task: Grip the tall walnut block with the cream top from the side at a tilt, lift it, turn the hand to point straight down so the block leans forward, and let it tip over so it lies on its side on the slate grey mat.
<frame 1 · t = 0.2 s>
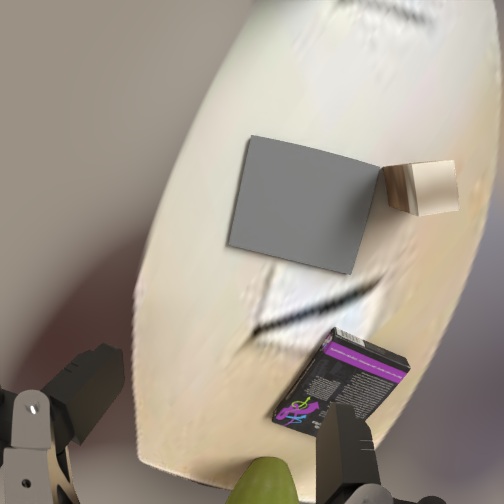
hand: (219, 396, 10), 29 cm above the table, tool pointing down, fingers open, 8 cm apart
mat: (303, 204, 36), on the table
box: (337, 386, 43), on the table
block: (403, 184, 34), on the table
flower pot: (269, 465, 50), on the table
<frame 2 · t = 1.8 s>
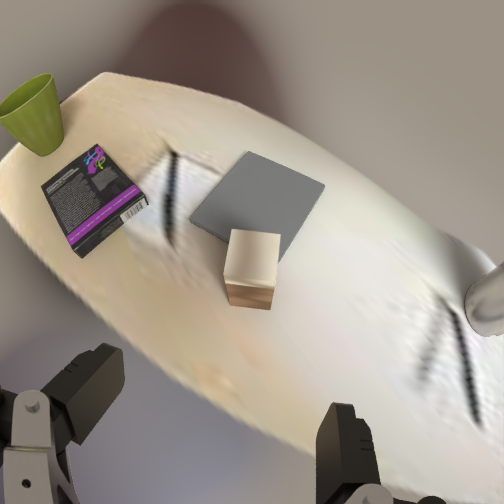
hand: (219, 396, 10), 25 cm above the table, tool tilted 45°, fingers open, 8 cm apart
mat: (260, 204, 44), on the table
box: (92, 200, 46), on the table
block: (252, 289, 38), on the table
flower pot: (50, 145, 54), on the table
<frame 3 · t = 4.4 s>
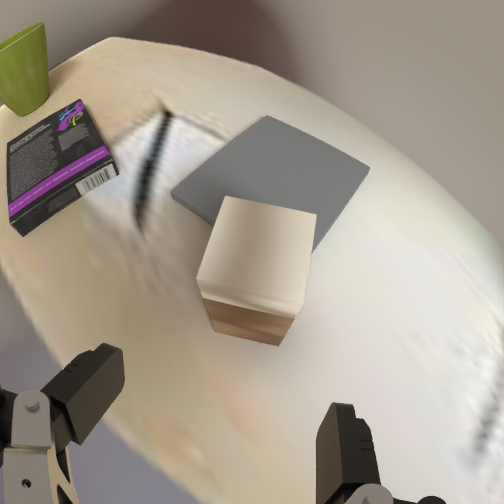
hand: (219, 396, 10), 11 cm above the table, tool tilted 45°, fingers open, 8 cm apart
mat: (277, 182, 30), on the table
box: (57, 165, 32), on the table
block: (253, 309, 23), on the table
flower pot: (33, 105, 41), on the table
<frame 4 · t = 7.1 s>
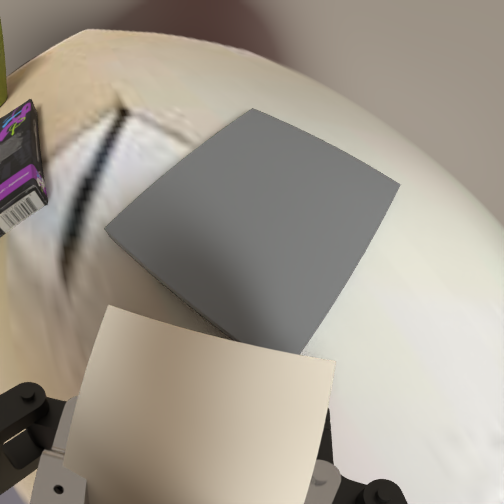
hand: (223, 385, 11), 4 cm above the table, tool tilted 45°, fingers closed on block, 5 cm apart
mat: (264, 209, 20), on the table
block: (220, 422, 13), on the table, touching gripper
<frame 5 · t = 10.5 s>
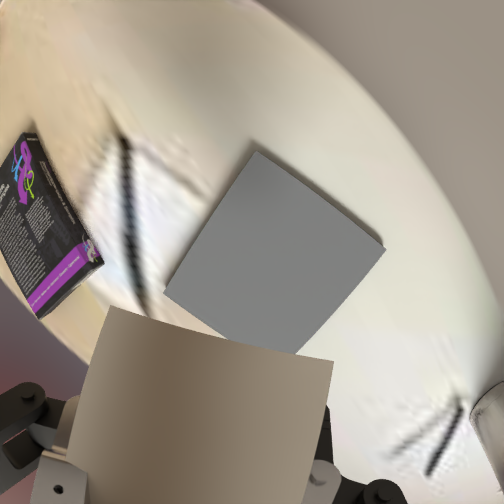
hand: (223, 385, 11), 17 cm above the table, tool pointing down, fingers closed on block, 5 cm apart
mat: (270, 270, 27), on the table
box: (41, 224, 31), on the table
block: (221, 422, 13), point 15 cm above the table, tilted 45°, touching gripper
when the fingers open (6 cm above the table, at t = 13.0 s): block moves 2 cm and tips over, resting on mat.
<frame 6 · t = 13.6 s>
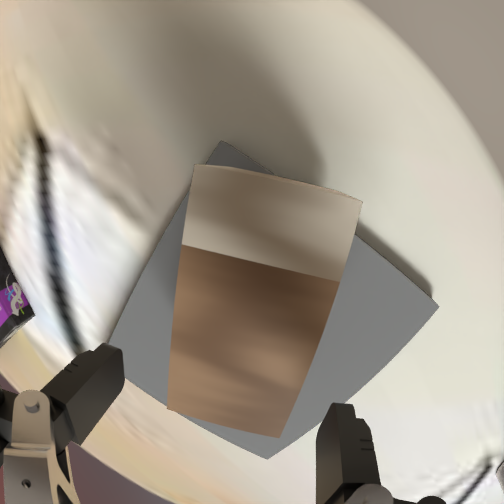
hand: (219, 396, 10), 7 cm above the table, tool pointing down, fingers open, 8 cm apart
mat: (251, 338, 17), on the table
block: (233, 390, 13), point 3 cm above the table, tilted 90°, touching mat
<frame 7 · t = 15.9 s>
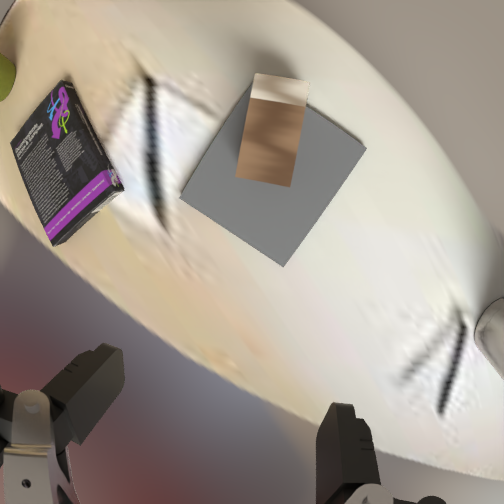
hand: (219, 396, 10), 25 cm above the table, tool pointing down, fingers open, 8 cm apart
mat: (271, 170, 32), on the table
box: (66, 161, 35), on the table
block: (264, 180, 29), point 3 cm above the table, tilted 90°, touching mat
flower pot: (5, 82, 32), on the table
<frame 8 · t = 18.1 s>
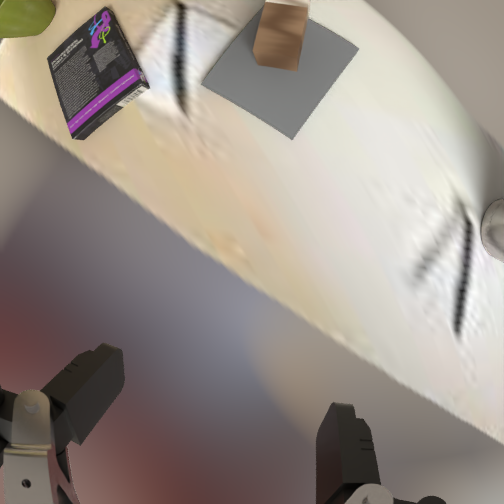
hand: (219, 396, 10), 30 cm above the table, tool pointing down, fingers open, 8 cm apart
mat: (281, 64, 33), on the table
box: (98, 71, 36), on the table
block: (276, 61, 30), point 3 cm above the table, tilted 90°, touching mat
flower pot: (43, 20, 33), on the table
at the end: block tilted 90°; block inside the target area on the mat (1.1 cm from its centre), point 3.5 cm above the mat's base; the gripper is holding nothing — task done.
